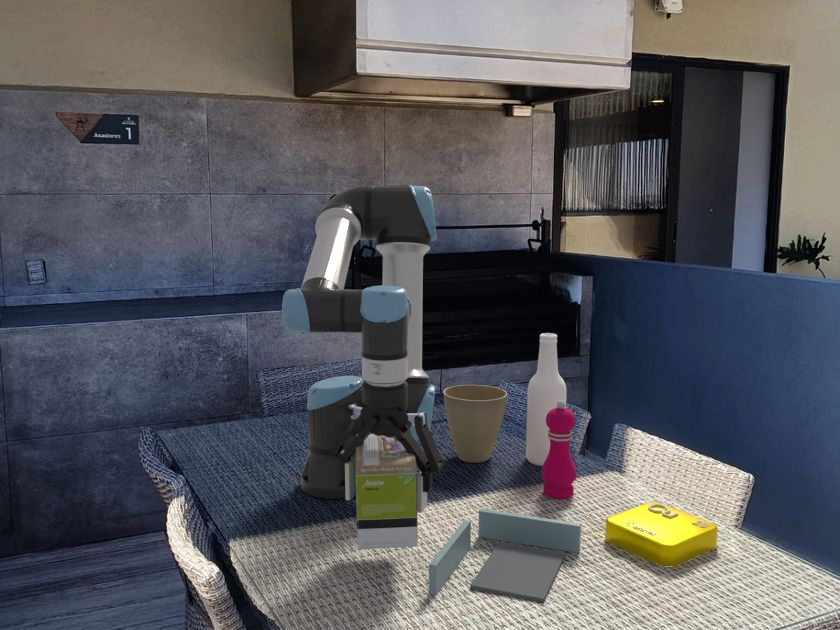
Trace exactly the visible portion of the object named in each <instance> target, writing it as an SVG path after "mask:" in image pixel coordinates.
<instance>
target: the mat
mask: <svg viewBox="0 0 840 630" xmlns="http://www.w3.org/2000/svg"><path fill="white" fill-rule="evenodd" d="M565 558H566V551H560V550H557V551H556V550H553V549H551V550H550V549H547V548H546V549H545V548H541V547H535V546H529V545H523V544H517V543H511V542H510V543H509V542H505V541H498V542H497V544H496V545H495V547H494V548H493V550H492V551H491V553H490V555H489V556H488V558H487V559H486V561H485V562H484V564H483V565H482V567H481V568H480V570H479V571H478V572H477V574H476V576H475V577H474V579H473V581H471V583H470V585H469V587H470V589H472V590H476V591H483V592H488V593H492V594H497V595H503V596H508V597H514V598H519V599H524V600H531V601H535V602H541V603H545V601H546V599H547V597H548V594H549V593H550V590H551V588H552V586H553V584H554V582H555V580H556V578H557V575H558V573H559V571H560V569H561V566H562V564H563V563H564V560H565Z"/></svg>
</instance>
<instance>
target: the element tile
mask: <svg viewBox="0 0 840 630" xmlns="http://www.w3.org/2000/svg"><path fill="white" fill-rule="evenodd" d="M604 535H605V541H606V542H607V543H609V544H611V545H614V546H615V547H617V546H618V548H619V547H620V549H622V550H625V551H627V552H628V553H630V552H631V554H633V555H636V556H637V557H639V556H640V558H641V557H642V558H641V559H644V560H646V559H647V560H646V561H648V560H649V561H648V562H650V561H651V563H652V562H654V563H653V564H655V563H657V564H659V565H662V566H668V567H669V566H677V565H679V564H681V563H683V564H685V563H684V562H686V561H688V560H690V559H692V560H694V559H693V558H695V557H697V556H699V555H701V556H703V555H702V554H704V553H706V552H708V551H710V550H712V551H714V550H713V549H715V548H717V546H718V545H717V543H718V542H717V541H718V526H717V524H715V523H713V522H710V521H708V520H705V519H703V518H700V517H698V516H695V515H692V514H690V513H687V512H684V511H682V510H679V509H676V508H674V507H672V506H668V505H666V504H663V503H661V502H658V501H650V502H646V503H643V504H640V505H638V506H635V507H633V508H630V509H627V510H623V511H621V512H618V513H615V514H612V515H611V516H608V517H606V518H605V533H604ZM715 550H716V549H715ZM710 552H711V551H710ZM708 553H709V552H708ZM706 554H707V553H706ZM704 555H705V554H704ZM699 557H700V556H699ZM697 558H698V557H697ZM695 559H696V558H695ZM690 561H691V560H690ZM688 562H689V561H688ZM686 563H687V562H686ZM657 564H656V565H657ZM659 565H658V566H659ZM681 565H682V564H681ZM662 566H661V567H662ZM679 566H680V565H679ZM668 567H667V568H668ZM677 567H678V566H677Z"/></svg>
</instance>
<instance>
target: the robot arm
mask: <svg viewBox="0 0 840 630" xmlns="http://www.w3.org/2000/svg"><path fill="white" fill-rule="evenodd" d="M435 217H436V216H435V210H434V201H433V194H432V191H431V190H430V188H428V187H427V186H424V185H411V184H405V185H404V184H403V185H400V184H398V185H397V184H396V185H366V184H365V185H356V186H352V187H349V188H346V189H345V190H343V191H341V192H339V193H338V194H336V195H334V196H333V197H332V198H331V199H329V200H328V202H326V203H325V204H324V206H323V207H322V208H321V210H320V211H319V213H318V214H317V218H316V220H315V225H314V226H315V227H314V230H315V235H316V238H315V240H314V244H313V247H312V251H311V254H310V257H309V261H308V264H307V268H306V271H305V273H304V277H303V280H302V284H301V287H300V288H299V287H297V288H295V289H293V288H292V289H291V288H290V289H287V290H286V291H285V292H284V293H283V297H282V303H281V315H282V316H281V318H282V323H283V326H284V328H285V330H287V331H289V332H296V333H298V332H299V333H306V334H309V333H350V334H351V333H353V334H354V333H356V334H359V333H360V334H361V347H362V348H361V349H362V350H361V376H357V375H356V376H355V375H339V376H334V377H329V378H325V379H322V380H319V381H317V382H315V383H313V384H312V385H311V386H310V387H309V389H308V392H307V405H306V409H307V434H308V436H307V437H308V453H307V455H306V456H307V457H306V460H305V463H304V466H303V470H302V472H301V473H302V474H301V476H300V487H301V491H302V492H303V493H304V494H306V495H308V496H311V497H314V498H318V499H319V498H320V499H326V500H327V499H329V500H331V499H332V500H338V499H340V500H341V499H345V500H346V501H351V500H352V499H353V498H355V497H356V447H358V446H359V445H360V444H361V443H363V442H364V441H365V440H366V438H367V437H368V436H369V435H370V434H374V435H376V436H381V435H384V436H386V437H391V438H392V437H393V436H395V438H396V439H397V441H398V442H401V444H402V445H403V447H404V448H405V449H406V451H407V452H408V453H409V454H413V455H415V459H416V465H417V468H418V470H419V472H417V513H422V512H423V511H424V510H425V509H426V508H427V507H428V493H429V492H430V491H431V490H432V488H433V473H438V472H439V471H440V470H441V469H443V467H444V465H445V464H444V461H443V458H442V456H441V454H440V451H439V450H438V446H437V444H436V442H435V440H434V438H433V434H432V433H431V425H432V418H433V412H434V404H435V396H436V386H435V385H433V384H430V376H429V375H428V374H427V372H425V370H424V369H423V297H424V296H423V292H424V290H423V288H424V287H423V286H424V285H423V283H424V282H423V279H424V278H423V276H424V274H423V273H424V272H423V271H424V256H425V255H426V254H427V253H428V252H429V251H430V250H431V242H434V241H436V240H437V239H438V237H437V236H438V235H437V227H436V226H437V225H436V218H435ZM359 241H375V249H376V250H377V251H378V253H380V254H381V255H382V284H381V285H372V286H368V287H366V288H364V289H345V284H346V280H347V275H348V272H349V267H350V262H351V257H352V253H353V248H354V246H355V245H356V244H357V243H358V242H359ZM357 434H358V435H357ZM356 435H357V437H356ZM418 441H419V442H420V443H418ZM420 445H421V446H420Z"/></svg>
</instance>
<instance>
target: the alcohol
mask: <svg viewBox="0 0 840 630" xmlns="http://www.w3.org/2000/svg"><path fill="white" fill-rule="evenodd" d="M538 341H539V349H538V350H539V351H538V359H537V370H536V372H535V374H534V375H533V376H532V377H531V379H530V380H529V383H528V386H527V400H526V401H527V402H526V403H527V406H526V438H525V439H526V445H525V446H526V448H525V449H526V451H525V457H526V459H527V461H528V462H529V463H530V464H532V465H534V466H539V467H543V464H544V462H545V460H546V458H547V456H548V454H549V450H550V439H549V438H548V430H550V429H549V428H548V426H547V424H546V416H547V414H548V412H549V411H550V410H552V409H554V408H557V402H558V401H563V402H564V403H565V408H566V409H567V385H566V382H565V381H564V379H563V378H562V376H561V375H560V373H559V368H558V365H559V364H558V347H557V345H558V344H557V343H558V334H556V333H553V332H552V333H551V332H545V333H541V334H540V335H539V340H538Z"/></svg>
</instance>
